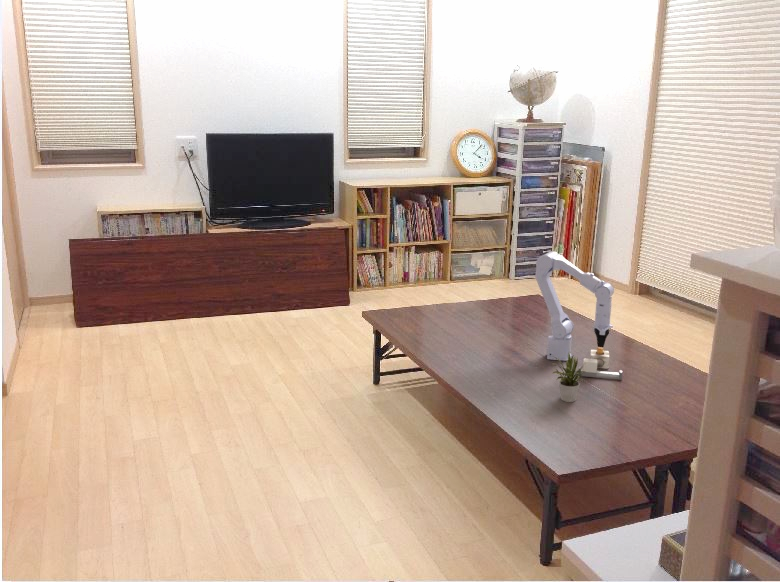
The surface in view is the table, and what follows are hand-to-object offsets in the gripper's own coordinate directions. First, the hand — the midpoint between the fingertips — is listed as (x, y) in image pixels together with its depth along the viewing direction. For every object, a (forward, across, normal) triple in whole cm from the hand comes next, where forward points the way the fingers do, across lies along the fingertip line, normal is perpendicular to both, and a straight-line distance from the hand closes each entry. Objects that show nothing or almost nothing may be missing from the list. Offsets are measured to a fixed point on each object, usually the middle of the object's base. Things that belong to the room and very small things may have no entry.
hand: (600, 346), depth 281 cm
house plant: (+8, -36, +12) cm, 39 cm away
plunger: (+3, 0, 0) cm, 3 cm away
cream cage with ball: (+8, 0, 0) cm, 8 cm away
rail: (+8, -13, 0) cm, 15 cm away
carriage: (+8, -13, +4) cm, 16 cm away
